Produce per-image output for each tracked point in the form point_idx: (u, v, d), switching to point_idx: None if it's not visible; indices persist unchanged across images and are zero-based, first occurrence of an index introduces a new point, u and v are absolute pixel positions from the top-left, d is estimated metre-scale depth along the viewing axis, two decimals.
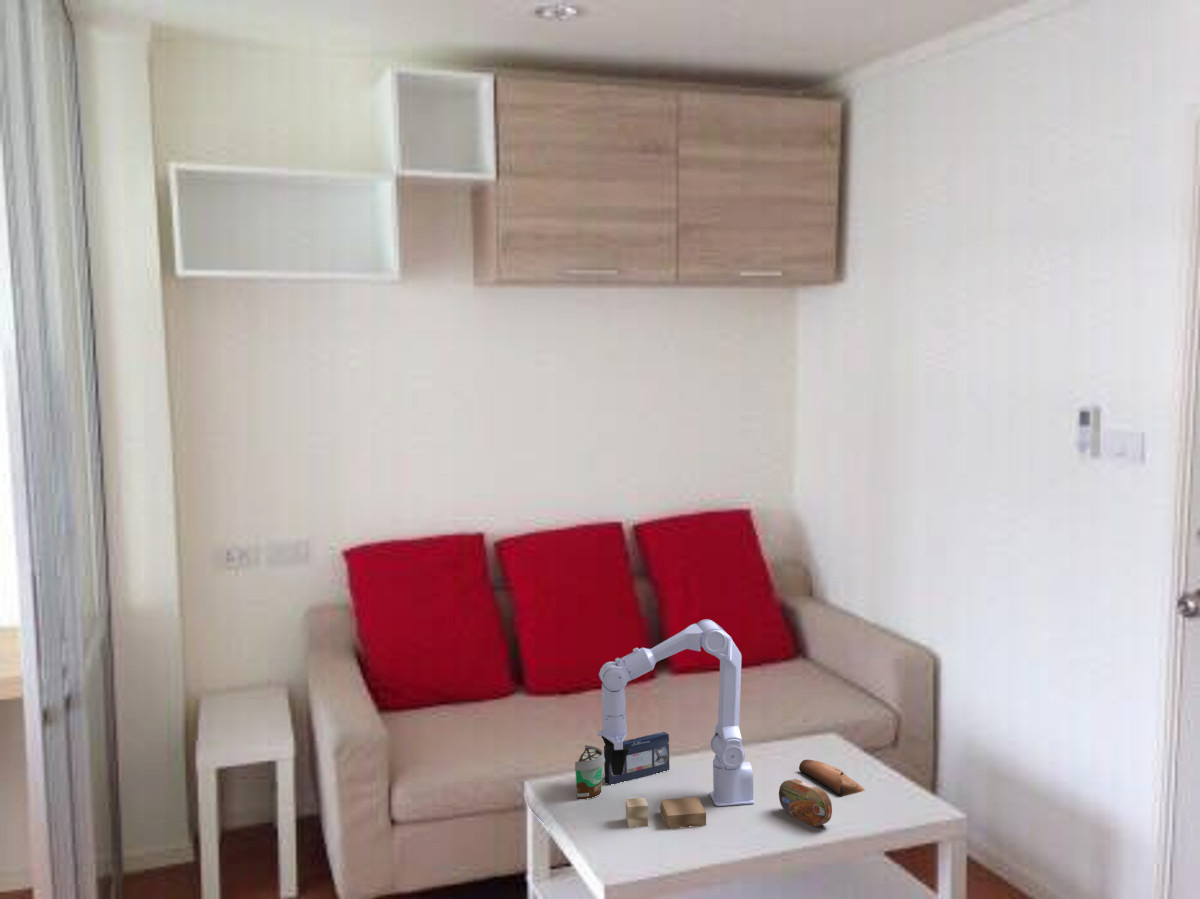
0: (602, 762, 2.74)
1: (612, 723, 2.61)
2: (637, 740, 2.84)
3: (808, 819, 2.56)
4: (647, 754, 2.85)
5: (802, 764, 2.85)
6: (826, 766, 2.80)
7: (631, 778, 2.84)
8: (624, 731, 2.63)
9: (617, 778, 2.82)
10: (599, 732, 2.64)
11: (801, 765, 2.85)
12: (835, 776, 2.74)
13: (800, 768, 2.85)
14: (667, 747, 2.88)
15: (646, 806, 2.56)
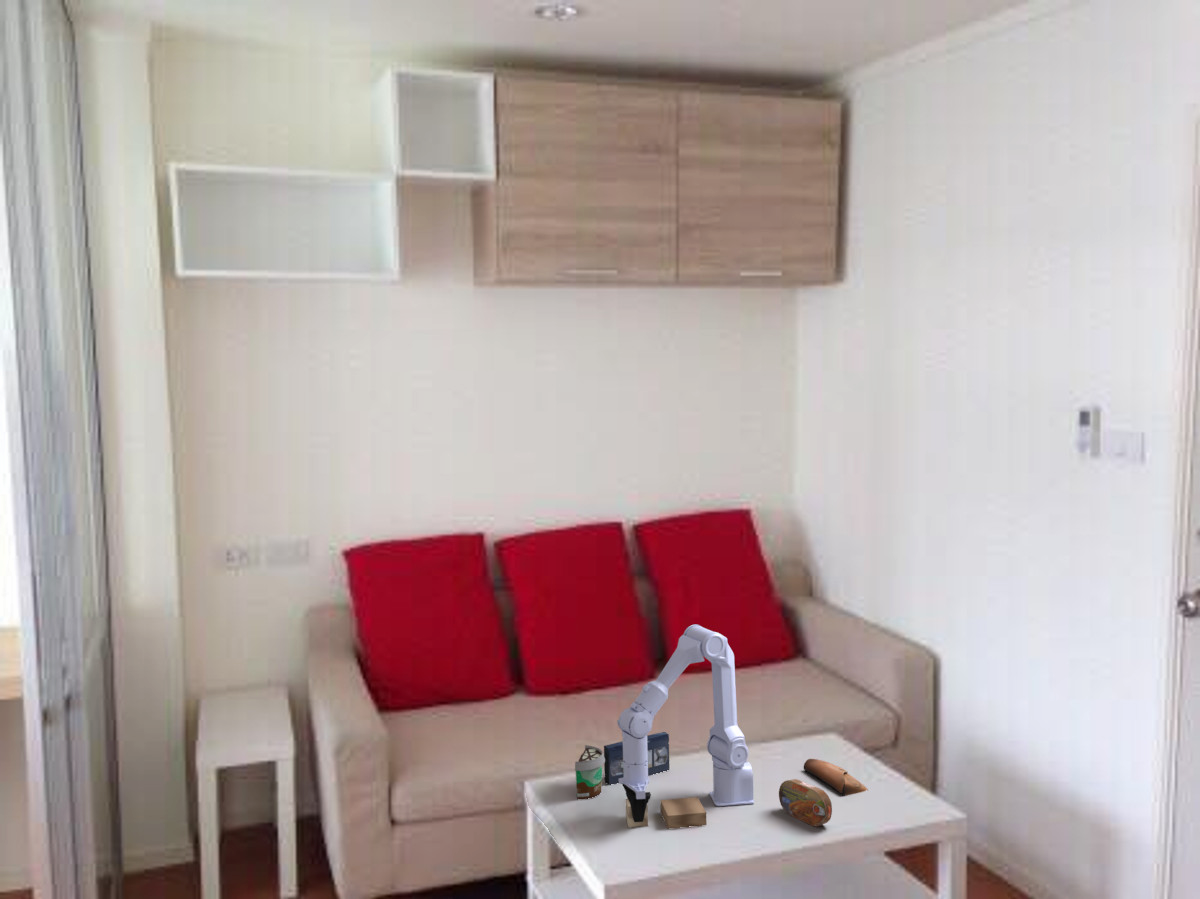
0: (602, 762, 2.74)
1: (634, 771, 2.54)
2: None
3: (808, 819, 2.56)
4: None
5: (807, 764, 2.85)
6: (830, 765, 2.81)
7: None
8: (646, 779, 2.56)
9: (617, 778, 2.82)
10: (620, 780, 2.57)
11: (805, 764, 2.86)
12: (838, 775, 2.74)
13: (804, 767, 2.86)
14: (667, 747, 2.88)
15: (646, 806, 2.56)
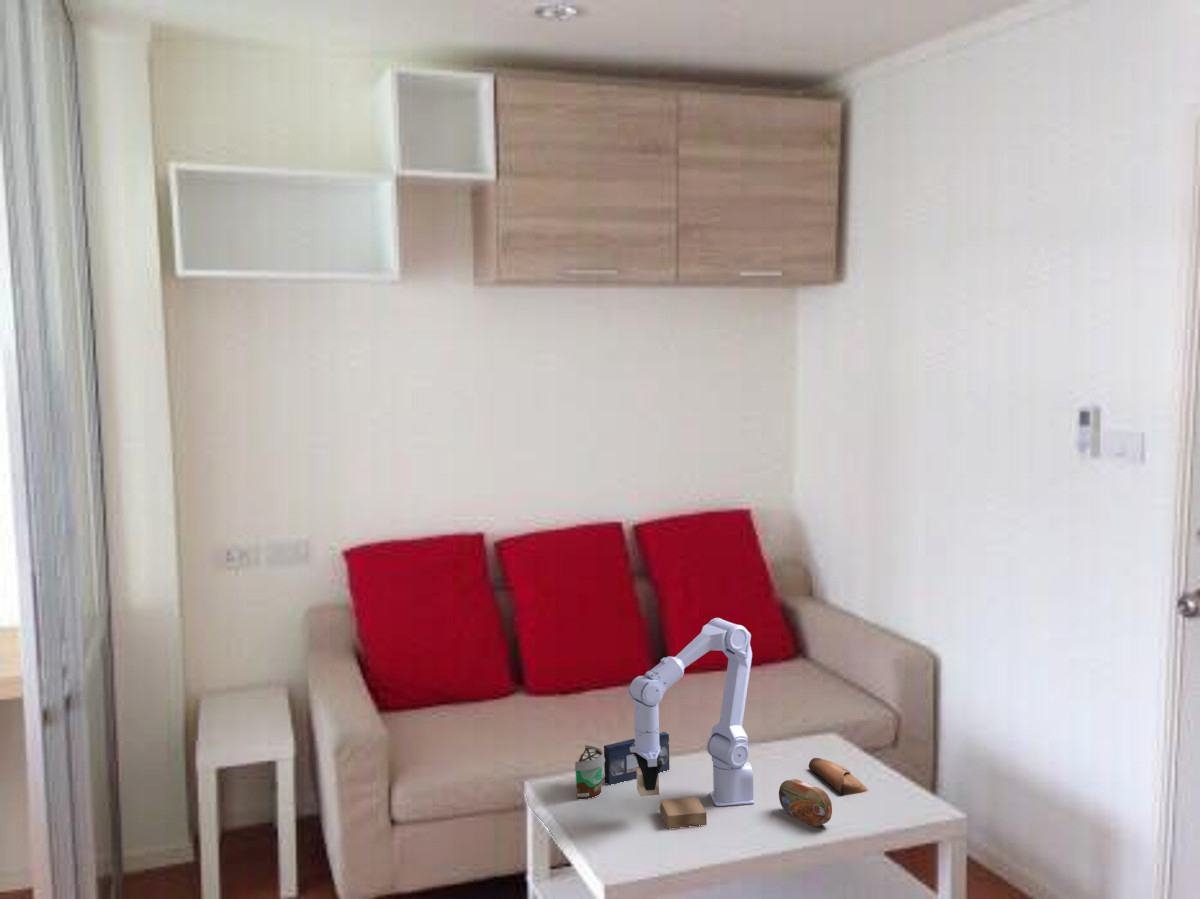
0: (602, 762, 2.74)
1: (645, 739, 2.54)
2: None
3: (808, 819, 2.56)
4: None
5: (811, 762, 2.86)
6: (833, 765, 2.81)
7: (631, 778, 2.84)
8: (657, 747, 2.56)
9: (617, 778, 2.82)
10: (631, 748, 2.56)
11: (810, 763, 2.86)
12: (838, 775, 2.74)
13: (809, 766, 2.87)
14: (667, 747, 2.88)
15: None
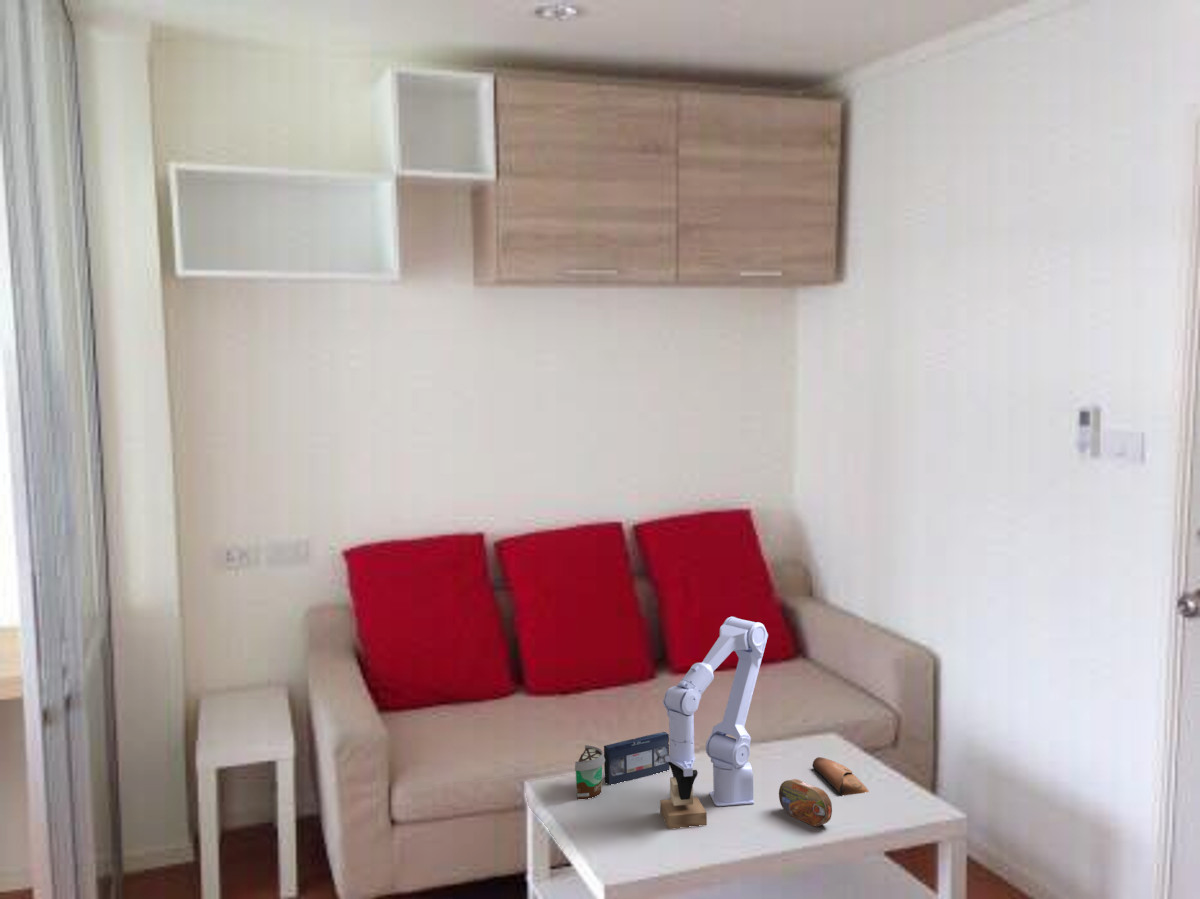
0: (602, 762, 2.74)
1: (680, 748, 2.55)
2: (637, 740, 2.84)
3: (808, 819, 2.56)
4: (647, 754, 2.85)
5: (815, 762, 2.86)
6: (835, 765, 2.81)
7: (631, 778, 2.84)
8: (692, 757, 2.57)
9: (617, 778, 2.82)
10: (666, 758, 2.58)
11: (814, 762, 2.87)
12: (838, 775, 2.75)
13: (813, 765, 2.87)
14: (667, 747, 2.88)
15: None
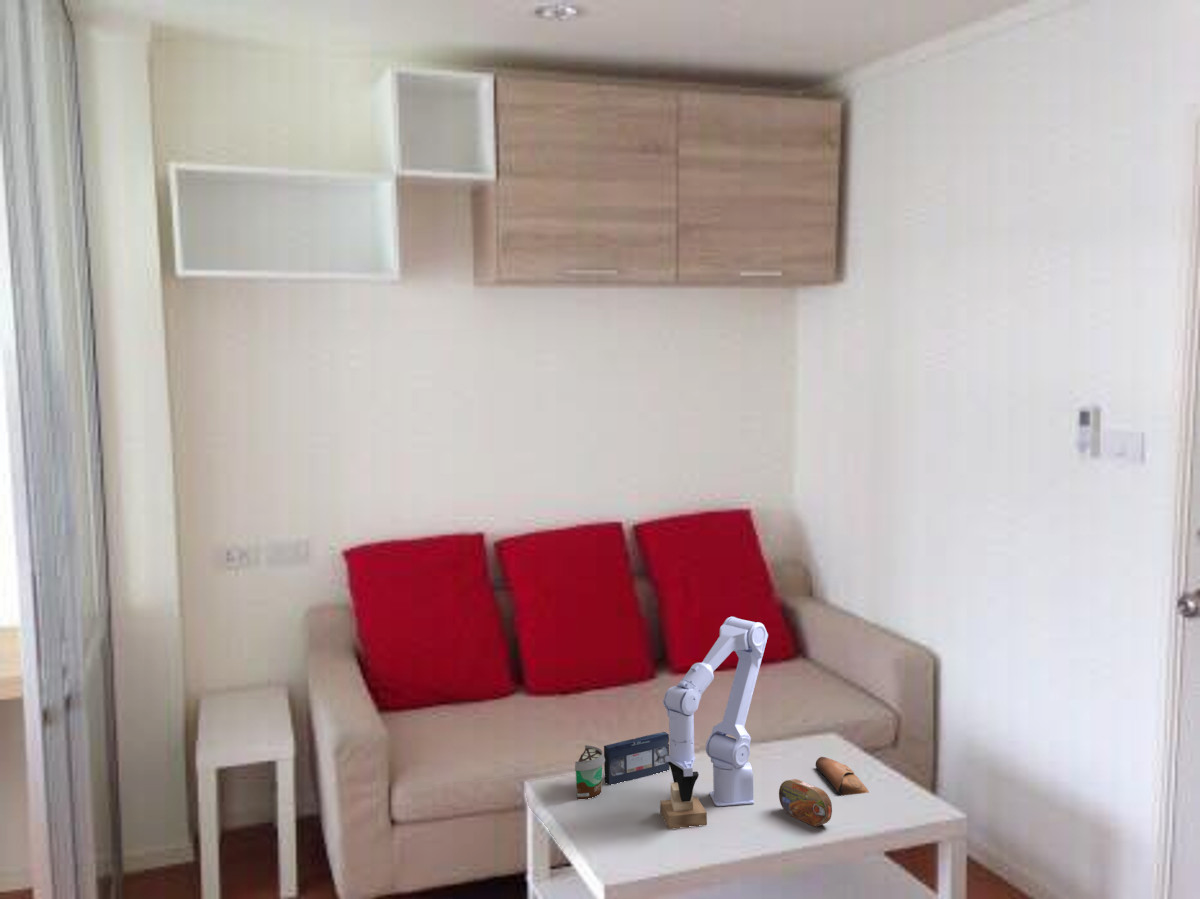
0: (602, 762, 2.74)
1: (680, 748, 2.55)
2: (637, 740, 2.84)
3: (808, 819, 2.56)
4: (647, 754, 2.85)
5: (818, 761, 2.87)
6: (837, 765, 2.81)
7: (631, 778, 2.84)
8: (692, 757, 2.57)
9: (617, 778, 2.82)
10: (666, 758, 2.58)
11: (817, 762, 2.87)
12: (839, 775, 2.75)
13: (816, 765, 2.87)
14: (667, 747, 2.88)
15: None
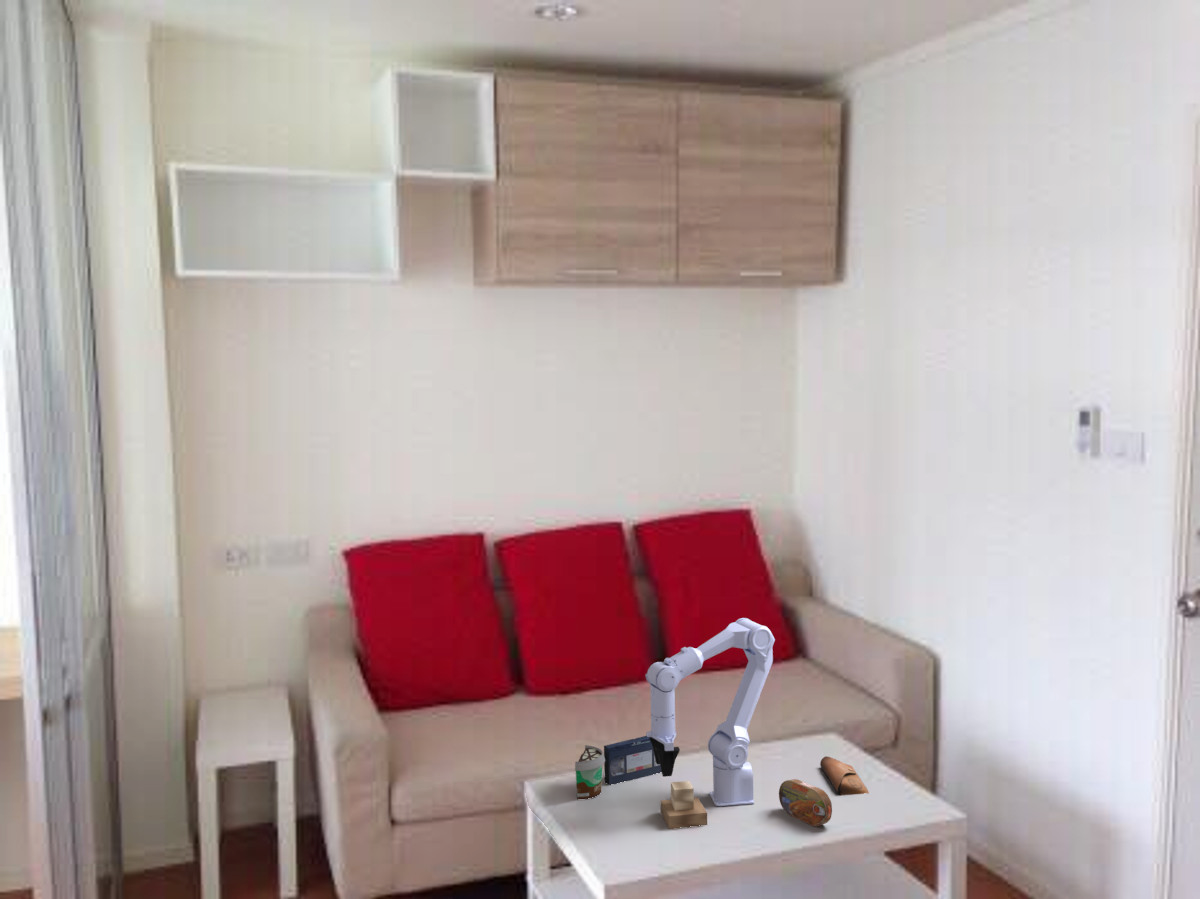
0: (602, 762, 2.74)
1: (662, 723, 2.59)
2: (637, 740, 2.84)
3: (808, 819, 2.56)
4: (647, 754, 2.85)
5: (822, 761, 2.87)
6: (840, 765, 2.81)
7: (631, 778, 2.84)
8: (673, 732, 2.60)
9: (617, 778, 2.82)
10: (648, 733, 2.61)
11: (821, 761, 2.87)
12: (839, 775, 2.75)
13: (820, 764, 2.88)
14: None
15: (692, 789, 2.57)
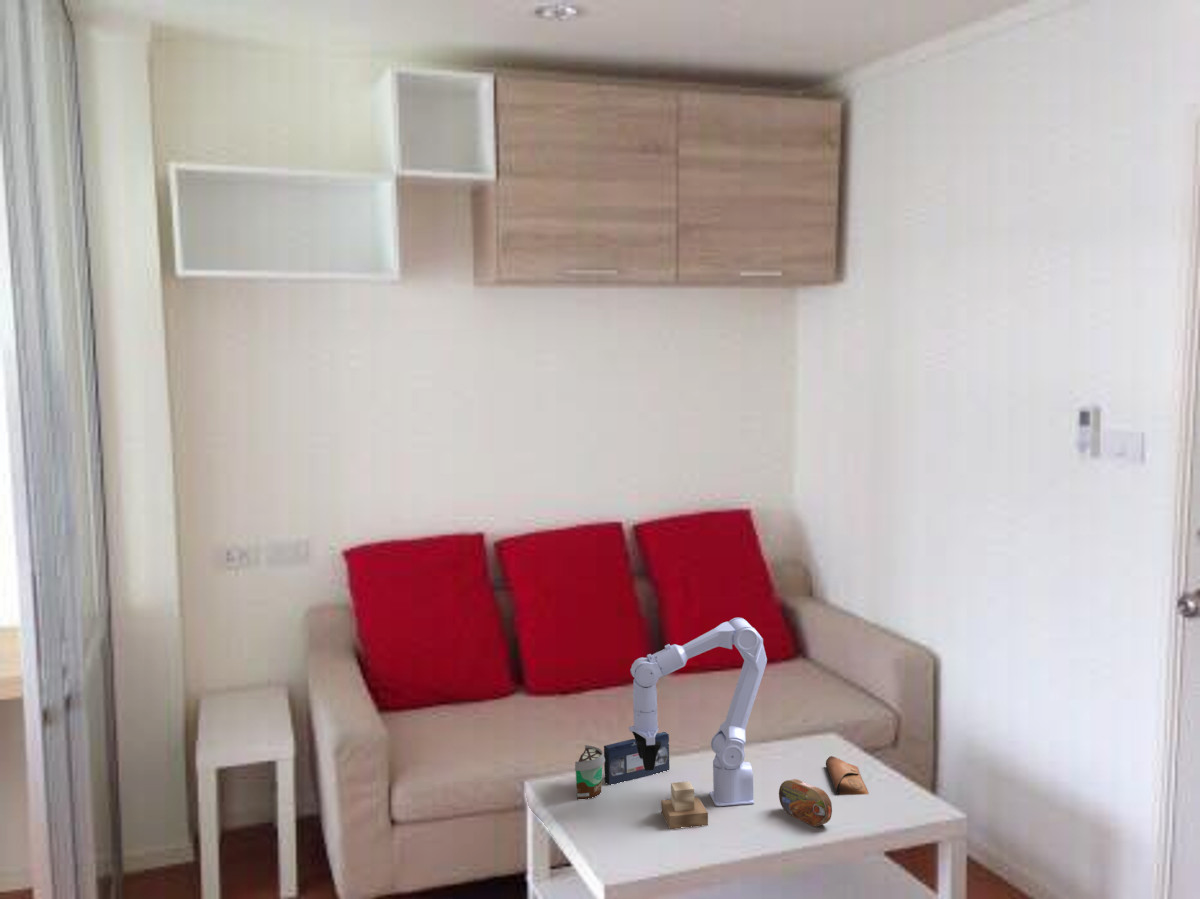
0: (602, 762, 2.74)
1: (644, 718, 2.63)
2: None
3: (808, 819, 2.56)
4: None
5: (827, 760, 2.87)
6: (843, 765, 2.81)
7: (631, 778, 2.84)
8: (655, 727, 2.64)
9: (617, 778, 2.82)
10: (630, 728, 2.65)
11: (826, 761, 2.88)
12: (840, 774, 2.75)
13: (826, 764, 2.88)
14: (667, 747, 2.88)
15: (692, 789, 2.57)
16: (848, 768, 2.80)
